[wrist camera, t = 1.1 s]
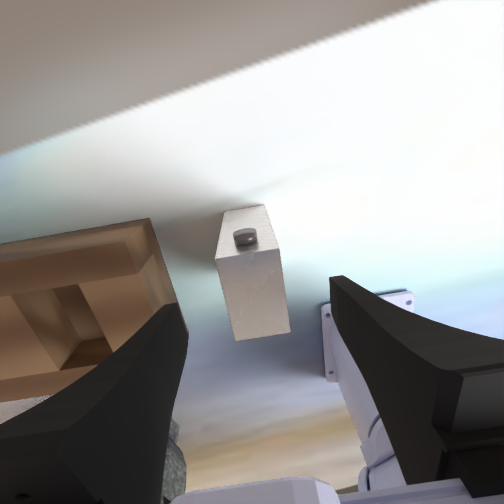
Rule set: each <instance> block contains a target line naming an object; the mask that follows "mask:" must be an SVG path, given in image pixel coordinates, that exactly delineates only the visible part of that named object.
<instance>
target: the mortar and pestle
mask: <svg viewBox="0 0 504 504" xmlns="http://www.w3.org/2000/svg"><path fill="white" fill-rule="evenodd" d="M178 432H179V425H178V424H177V423H176V422H175V421H174V420H173V419H172V418H171V423H170V429H169V436H168V443H167V451H166V458H165V466H164V475H163V484H162V494H161V504H170V503H171V502H172V501H173V500H174V499H175V498H176V497H177V496H180V495H183V494H185V488H186V463H185V460H184V457H183V453H182V451H181V450H180V449H179V447H178V446H177V445H176V443H177V439H178Z"/></svg>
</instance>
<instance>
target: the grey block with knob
mask: <svg viewBox="0 0 504 504" xmlns="http://www.w3.org/2000/svg"><path fill="white" fill-rule="evenodd" d="M215 262H216V266H217V270H218V274H219V278H220V282H221V286H222V290H223V294H224V298H225V302H226V306H227V310H228V314H229V318H230V322H231V326H232V330H233V334H234V338H235V341H240V340H246V339H253V338H259V337H265V336H272V335H278V334H284V333H291V332H290V324H289V317H288V309H287V302H286V295H285V287H284V280H283V272H282V265H281V257H280V250H279V246H278V243H277V240H276V237H275V234H274V231H273V228H272V225H271V222H270V219H269V216H268V213H267V210H266V207H265V205H260V206H254V207H248V208H243V209H237V210H231V211H225V212H224V216H223V221H222V226H221V231H220V236H219V241H218V246H217V250H216V255H215Z"/></svg>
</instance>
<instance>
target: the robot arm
mask: <svg viewBox="0 0 504 504" xmlns="http://www.w3.org/2000/svg"><path fill="white" fill-rule="evenodd" d="M329 282H330V302H331V303H329V304H325V305H323V306H322V307H321V318H322V332H323V347H324V361H325V375H326V380H327V382H329V383H334V382H338V384H339V387H340V389H341V392H342V395H343V397H344V400H345V402H346V405H347V407H348V410H349V413H350V415H351V418H352V420H353V423H354V425H355V428H356V430H357V433H358V436H359V438H360V440H361V442H362V445H361V446H360V448H361V451H362V453H363V456H364V458H365V461H366V464H367V466H365V467H364V468H363V469H362V470H361V471H360V474H359V478H358V490H359V492H355V493H348V494H342V495H337V494H336V492H335V490H334V489H333V487H332V486H331V485H329V484H328V483H326V482H324V481H321V480H318V479H316V478H313V477H287V478H280V479H273V480H266V481H259V482H252V483H245V484H238V485H231V486H224V487H217V488H210V489H203V490H196V491H193V492H189V493H186V494H183V495H180V496H177V497H176V498H175V499H174V500H173V501H172V502H171V503H170V504H504V340H502V339H497V338H492V337H488V336H484V335H480V334H476V333H472V332H468V331H464V330H461V329H458V328H454V327H451V326H448V325H445V324H442V323H439V322H436V321H433V320H430V319H427V318H425V317H422V316H419V315H417V314H415V313H413V309H414V300H415V295H414V294H413V293H412V292H411V291H404V292H397V293H391V294H385V295H379V296H377V295H375V294H373V293H372V292H370V291H368V290H366V289H365V288H363V287H361V286H360V285H358V284H356V283H355V282H353V281H352V280H350V279H348V278H347V277H345V276H343V275H341V276H334V277H329ZM408 300H409V301H408ZM407 301H408V302H407ZM327 313H329V315H326V314H327ZM188 337H189V335H188V333H187V330H186V327H185V324H184V321H183V318H182V315H181V312H180V309H179V306H178V304H177V303H171V304H165V305H163V306H162V307H161V308H160V309H159V310H158V311H157V312H156V313H155V314H154V315H153V316H152V317H151V318H150V319H149V320H148V321H147V322H146V323H145V324H144V325H143V326H142V327H141V328H140V329H139V330H138V331H137V332H136V333H135V334H134V335H133V336H131V337H130V338H129V339H128V340H127V341H126V342H125V343H124V344H123V345H122V346H121V347H119V348H118V349H117V350H116V351H115V352H114V353H112V354H111V355H110V356H109V357H108V358H106V359H105V360H104V361H102V362H101V363H100V364H99V365H97V366H96V367H95V368H93V369H92V370H91V371H89V372H88V373H86V374H85V375H83V376H82V377H80V378H79V379H78V380H76V381H75V382H73V383H72V384H70V385H69V386H67V387H66V388H64V389H63V390H61V391H59V392H58V393H56V394H55V395H53V396H51V397H49V398H48V399H46V400H44V401H43V402H41V403H39V404H38V405H36V406H34V407H32V408H30V409H29V410H27V411H25V412H23V413H21V414H19V415H17V416H15V417H14V418H12V419H10V420H8V421H6V422H4V423H2V424H0V504H161V494H162V484H163V475H164V466H165V458H166V451H167V443H168V436H169V429H170V423H171V417H172V411H173V406H174V402H175V398H176V394H177V390H178V386H179V383H180V379H181V375H182V371H183V367H184V363H185V359H186V355H187V347H188Z"/></svg>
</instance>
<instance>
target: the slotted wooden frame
mask: <svg viewBox="0 0 504 504" xmlns="http://www.w3.org/2000/svg"><path fill="white" fill-rule="evenodd" d="M171 303H177V304H178V306H179V303H178V300H177V297H176V294H175V291H174V289H173V286H172V283H171V280H170V277H169V274H168V271H167V268H166V265H165V262H164V259H163V256H162V253H161V251H160V248H159V245H158V242H157V239H156V236H155V233H154V230H153V227H152V224H151V221H150V218H147V219H141V220H136V221H130V222H124V223H119V224H113V225H107V226H101V227H96V228H90V229H84V230H79V231H73V232H67V233H61V234H56V235H50V236H44V237H39V238H33V239H27V240H21V241H16V242H10V243H4V244H0V402H7V401H13V400H20V399H26V398H33V397H39V396H45V395H52V394H56V393H58V392H59V391H61V390H63V389H64V388H66V387H67V386H69V385H70V384H72V383H73V382H75V381H76V380H78V379H79V378H80V377H82V376H83V375H85V374H86V373H88V372H89V371H91V370H92V369H93V368H95V367H96V366H97V365H99V364H100V363H101V362H102V361H104V360H105V359H106V358H108V357H109V356H110V355H111V354H112V353H114V352H115V351H116V350H117V349H118V348H119V347H121V346H122V345H123V344H124V343H125V342H126V341H127V340H128V339H129V338H130V337H131V336H133V335H134V334H135V333H136V332H137V331H138V330H139V329H140V328H141V327H142V326H143V325H144V324H145V323H146V322H147V321H148V320H149V319H150V318H151V317H152V316H153V315H154V314H155V313H156V312H157V311H158V310H159V309H160V308H161V307H162V306H163V305H165V304H171ZM179 309H180V306H179ZM180 312H181V309H180ZM181 315H182V312H181ZM182 318H183V315H182ZM183 321H184V318H183ZM184 324H185V321H184ZM185 327H186V324H185ZM186 330H187V333H188V335H189V332H188V329H187V327H186Z"/></svg>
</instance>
